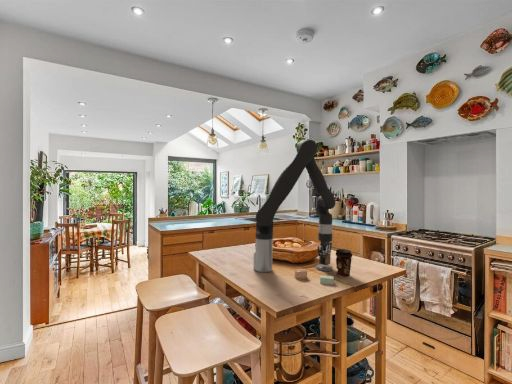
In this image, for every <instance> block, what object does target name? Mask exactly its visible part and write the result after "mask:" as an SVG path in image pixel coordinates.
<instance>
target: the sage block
mask: <svg viewBox="0 0 512 384" xmlns="http://www.w3.org/2000/svg"><path fill="white" fill-rule="evenodd" d="M319 277H320V278H319V284H322V285H334V279H335V278H334V276H333V275H325V274H324V275H323V274H321V275H319Z"/></svg>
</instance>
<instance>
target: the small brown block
mask: <svg viewBox="0 0 512 384" xmlns="http://www.w3.org/2000/svg"><path fill="white" fill-rule="evenodd" d="M307 278H308V271H307V269H304V268H297V269H295V270H294V279H296V280H300V281H301V280H303V281H304V280H307Z"/></svg>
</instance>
